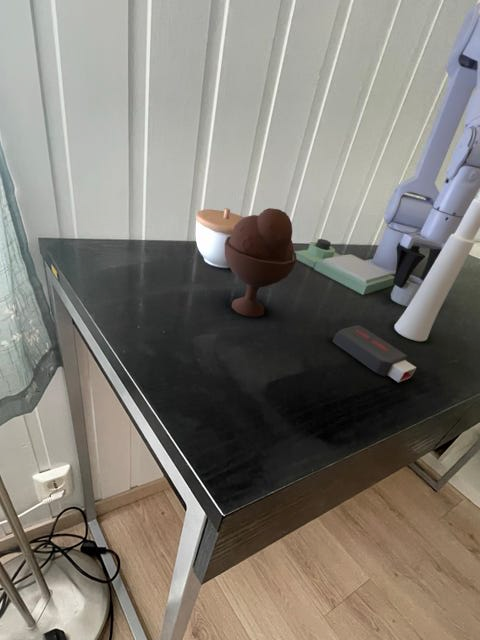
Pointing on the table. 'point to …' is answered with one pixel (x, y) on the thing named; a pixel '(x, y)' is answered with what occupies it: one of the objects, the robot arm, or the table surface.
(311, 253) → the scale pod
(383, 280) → the scale
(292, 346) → the table surface
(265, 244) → the ice cream bowl
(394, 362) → the usb drive
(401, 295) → the grey cup
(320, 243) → the button
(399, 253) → the robot arm
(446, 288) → the cosmetic bottle
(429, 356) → the table surface
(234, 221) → the trinket box
